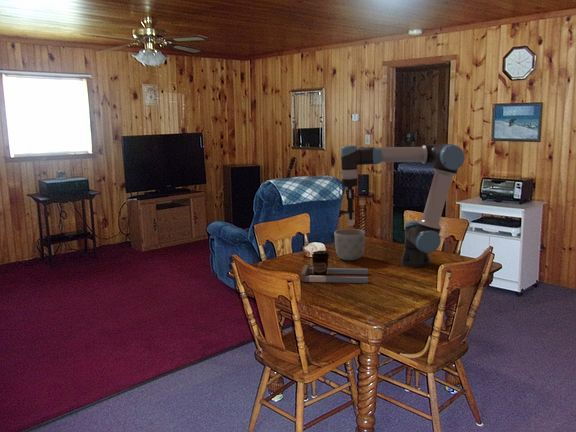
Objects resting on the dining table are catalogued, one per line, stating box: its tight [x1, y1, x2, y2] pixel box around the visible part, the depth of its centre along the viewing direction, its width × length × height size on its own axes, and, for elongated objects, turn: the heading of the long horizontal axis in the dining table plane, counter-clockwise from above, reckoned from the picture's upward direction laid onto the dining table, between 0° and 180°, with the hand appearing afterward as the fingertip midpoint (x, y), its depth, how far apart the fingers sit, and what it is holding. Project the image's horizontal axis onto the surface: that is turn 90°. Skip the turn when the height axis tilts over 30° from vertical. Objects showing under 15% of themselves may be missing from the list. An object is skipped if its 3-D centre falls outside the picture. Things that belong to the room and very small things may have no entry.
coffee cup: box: [311, 250, 330, 276], centre depth 259 cm, size 9×8×13 cm
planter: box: [333, 228, 366, 262], centre depth 291 cm, size 17×17×15 cm
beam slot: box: [300, 264, 369, 284], centre depth 259 cm, size 32×15×4 cm, turn 81°
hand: (351, 225), depth 258 cm, fingers closed
